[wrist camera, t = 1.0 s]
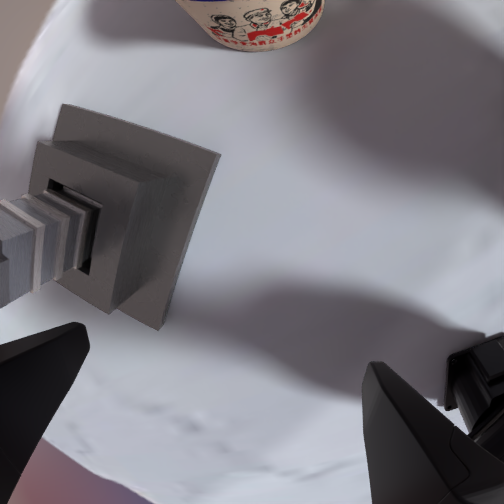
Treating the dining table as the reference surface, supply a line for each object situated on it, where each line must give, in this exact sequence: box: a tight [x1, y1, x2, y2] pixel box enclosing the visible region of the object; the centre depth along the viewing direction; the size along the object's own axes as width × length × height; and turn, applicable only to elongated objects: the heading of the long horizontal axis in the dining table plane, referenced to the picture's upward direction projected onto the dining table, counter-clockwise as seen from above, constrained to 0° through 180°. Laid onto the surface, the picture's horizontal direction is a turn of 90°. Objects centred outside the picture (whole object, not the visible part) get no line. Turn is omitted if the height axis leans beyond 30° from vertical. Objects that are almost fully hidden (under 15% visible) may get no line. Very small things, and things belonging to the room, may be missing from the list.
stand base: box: [28, 104, 221, 331], centre depth 20 cm, size 14×14×6 cm
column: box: [0, 186, 103, 309], centre depth 16 cm, size 5×4×12 cm
